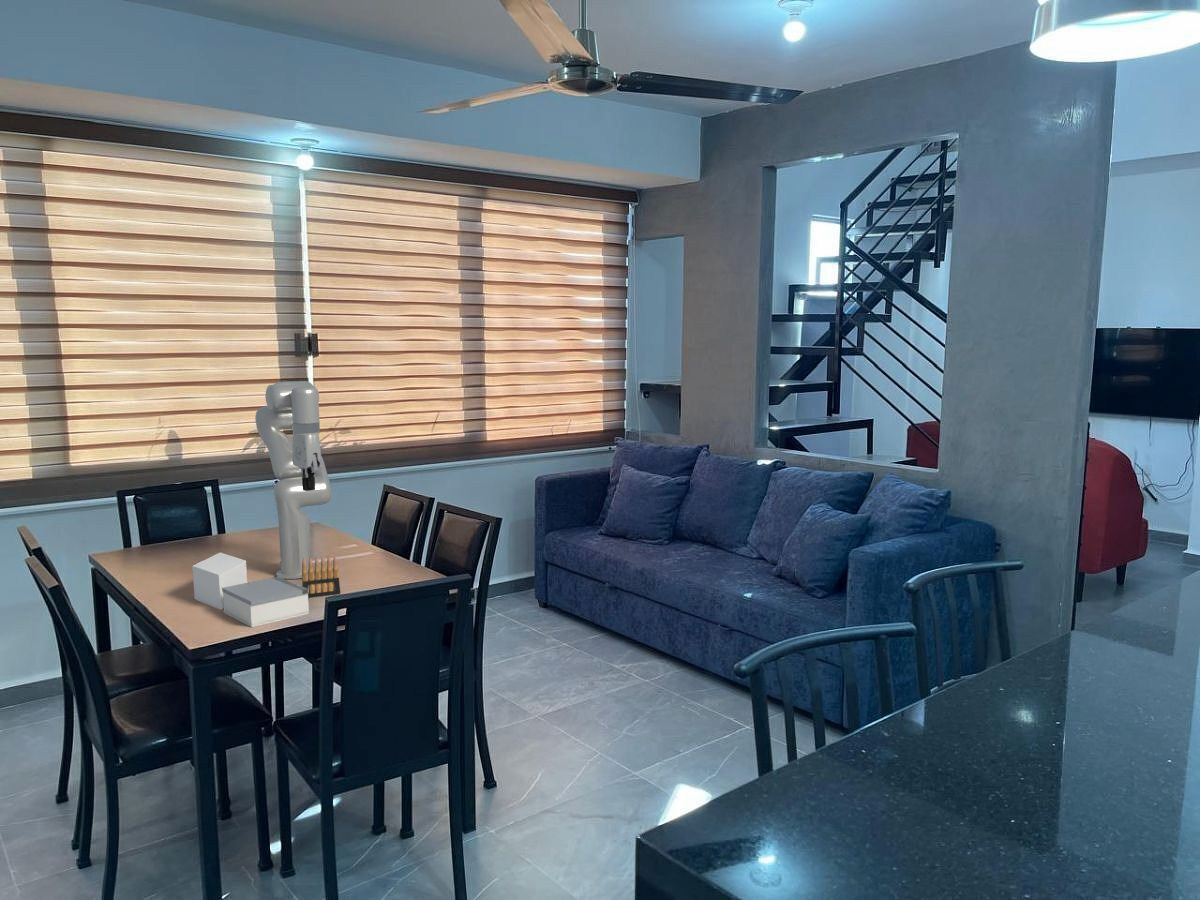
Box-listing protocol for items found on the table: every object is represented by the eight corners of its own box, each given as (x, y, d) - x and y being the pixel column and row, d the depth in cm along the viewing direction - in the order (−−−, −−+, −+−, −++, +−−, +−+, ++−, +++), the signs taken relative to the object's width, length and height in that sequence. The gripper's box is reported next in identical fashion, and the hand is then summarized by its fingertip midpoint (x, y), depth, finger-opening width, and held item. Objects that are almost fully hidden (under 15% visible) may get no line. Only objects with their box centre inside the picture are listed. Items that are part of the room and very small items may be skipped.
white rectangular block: (247, 581, 272) (245, 550, 271) (248, 607, 246) (246, 572, 245) (196, 587, 267) (194, 554, 266) (192, 613, 240) (190, 577, 239)
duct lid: (222, 591, 240) (221, 587, 240) (277, 580, 251) (277, 576, 251) (251, 605, 227) (251, 601, 226) (308, 592, 238) (308, 589, 238)
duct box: (224, 612, 240) (222, 591, 240) (283, 599, 252) (281, 579, 252) (251, 627, 228) (250, 605, 227) (312, 612, 240) (311, 591, 239)
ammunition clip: (339, 592, 259) (337, 553, 258) (340, 594, 258) (338, 554, 256) (302, 596, 255) (300, 557, 254) (302, 598, 253) (300, 558, 252)
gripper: (283, 427, 257) (285, 488, 259) (305, 432, 246) (308, 495, 249) (307, 425, 262) (309, 484, 264) (330, 430, 251) (332, 492, 254)
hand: (308, 489), depth 256 cm, fingers closed
